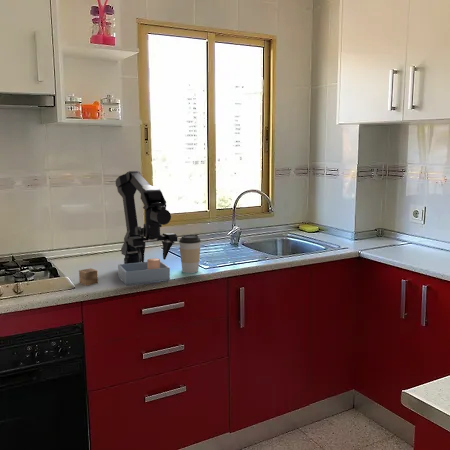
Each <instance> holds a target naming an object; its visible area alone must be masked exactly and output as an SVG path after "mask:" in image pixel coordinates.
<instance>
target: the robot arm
mask: <svg viewBox="0 0 450 450" xmlns="http://www.w3.org/2000/svg"><path fill="white" fill-rule="evenodd" d="M115 187H116V188H117V189H116V190H117V193H118V194H119V195H120V196H121V198H122V203H123V210H124V218H125V219H124V220H125V226H126V233H125V235H124V238H123V244H122V246H121V249H120V252H121V255H122V256H124V258H123V264H129V263H139V262H142V263H144V262H145V250H146V243H151V242H153V243H154V242H160V241H161V243H162V258H163V260H166V258H167V256H168V255H169V251H170V250H171V248H172V246H173V245H174V244H175V242H178V236H177V234H176V233H172V232H164V233H162V234H161V228H163V227H162V226H165V225H168V224H169V223H170V222H171V218H172V215H171V212H170V211H169V210H167V201H166V199H165V197H164V195H163V192H162V191H161V189H160V188H158V187H157V186H154V185H150V183H149V182H148V181H147V180H146V179H145V178H144V177H143V175H141V172H140V171H138V170H129V171H127V172H126V173H123V174H122V175H119V176H118V177H117V178H116V179H115ZM137 191H138V192H139V194H140V200H141V201H142V204H143V207H142V209H143V210H144V223H143V227H141V226H139V223H138V217H137V209H136V203H135V194H136V192H137Z"/></svg>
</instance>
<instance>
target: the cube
mask: <svg viewBox="0 0 450 450" xmlns="http://www.w3.org/2000/svg"><path fill="white" fill-rule="evenodd" d="M78 277H79V284H80V285H81V284H82V285H84V286H90V285H91V286H92V285H96V284H99V279H98V278H99V276H98V270H97V269H94V268H91V267H90V268H86V269H79V270H78Z"/></svg>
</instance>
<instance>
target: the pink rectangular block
mask: <svg viewBox="0 0 450 450" xmlns="http://www.w3.org/2000/svg"><path fill="white" fill-rule="evenodd" d="M160 261H161V259H160V258H156V257H155V258H148V259H146V262H147V270H148V269H158V268H160Z"/></svg>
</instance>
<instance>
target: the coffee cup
mask: <svg viewBox="0 0 450 450" xmlns="http://www.w3.org/2000/svg"><path fill="white" fill-rule="evenodd" d="M178 242H179V254H180V255H179V257H180V261H181V262H180V263H181V271H182V272H183V273H187V274H189V273H190V274H194V273H198V272H199V267H200V257H201V256H200V255H201V243H202V241H201V238H200V237H199V235H198V234H186V235H182V236H181V237H180V238H179V241H178Z"/></svg>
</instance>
